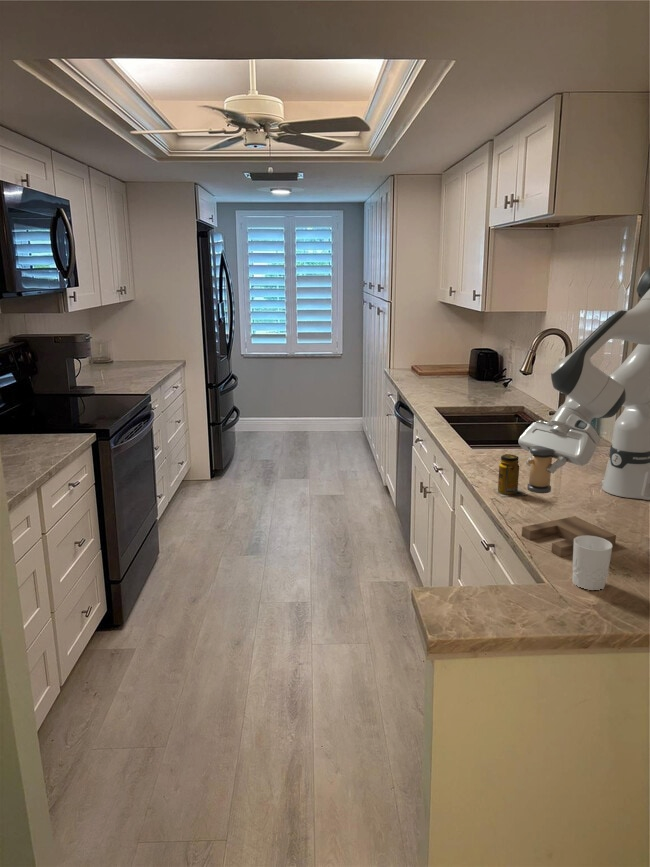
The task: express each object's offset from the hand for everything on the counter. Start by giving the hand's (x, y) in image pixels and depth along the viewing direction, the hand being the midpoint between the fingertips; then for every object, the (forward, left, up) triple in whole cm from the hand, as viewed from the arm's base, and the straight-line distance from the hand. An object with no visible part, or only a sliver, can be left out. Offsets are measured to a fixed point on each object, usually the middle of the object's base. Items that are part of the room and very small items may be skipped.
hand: (539, 468), depth 161 cm
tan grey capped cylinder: (-1, 0, -6) cm, 6 cm away
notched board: (-6, +6, -19) cm, 20 cm away
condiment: (-16, -29, -19) cm, 38 cm away
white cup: (+7, +26, -19) cm, 33 cm away
